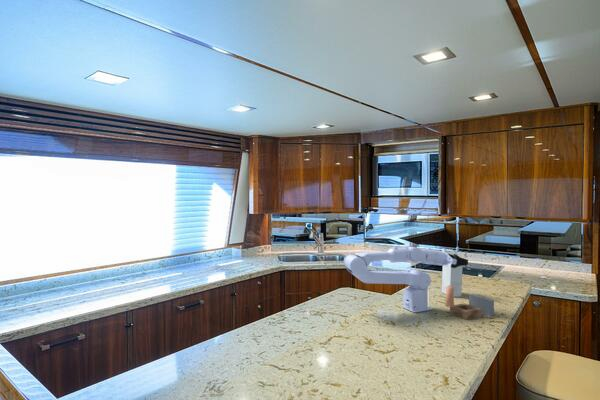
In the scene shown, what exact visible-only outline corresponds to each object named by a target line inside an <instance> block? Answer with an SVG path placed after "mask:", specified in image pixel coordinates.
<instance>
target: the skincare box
mask: <svg viewBox="0 0 600 400" xmlns="http://www.w3.org/2000/svg"><path fill="white" fill-rule="evenodd" d="M441 274H442V275H441V277H442V278H441V293H443V294H445V295H446V287H447V286H451V287H454V298H457V297H458V298H459V297H462V293H463V292H462V290H463V289H462V287H463V266H458V267H456V268H452V267H451V264H448V265H444V266H443V265H442V272H441Z"/></svg>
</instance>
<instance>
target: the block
mask: <svg viewBox="0 0 600 400" xmlns="http://www.w3.org/2000/svg"><path fill="white" fill-rule="evenodd" d="M449 314H451V315H452V316H456V317H458V318H461V319H463V320H473V319H477V318H482V317H483V314H482V309H480V308H477V307H474V306H472V305H469V303H465V302H464V303H459V304H454V305H452V306H450V307H449Z"/></svg>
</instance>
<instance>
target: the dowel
mask: <svg viewBox="0 0 600 400" xmlns="http://www.w3.org/2000/svg"><path fill="white" fill-rule="evenodd" d="M445 298H446V299H445V300H446V301H445V306H446V307H448V308H450V306H452V305H455V297H454V287H451V286H447V287H446V294H445Z"/></svg>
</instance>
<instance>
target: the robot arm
mask: <svg viewBox="0 0 600 400" xmlns="http://www.w3.org/2000/svg"><path fill="white" fill-rule="evenodd" d="M378 261H389V262H390V263H405V262H409V261H410V262H412V263H422V264H423V263H424V264H432V265H438V266H439V265H440V266H442V267H443V266H444V265H448V264H451V267H452V268H456V267H458V266H462V267H463V266H468V265H469V259H466V258H465V257H464V258H463V257H461V256H459V255H458V254H456V253H453V254H450V253H448V252H447V249H446V248H441V249H440V250H437V249H436V250H435V249H430V248H429V249H428V248H420V247H413V246H409V245H407V246H406V245H405V246H404V247H398V246H392V248H389V249H388V250H387V251H372V252H370V251H366V252H364V251H363V252H356V253H354V254H353V253H349V254H347V255H345V256H344V258H343V265H344V267H345V269H346V270H347V271H348V272H349V273H350V274H352V275H353V276H354V277H355V278H357V279H358V280H359V281H360V282H362V283H363V284H380V285H381V284H382V285H385V284H386V285H388V284H389V285H408V287H406V288H405V289H404V290H403V291H402V306H401V307H402V308H403V309H405V310H407V311H410V312H412V313H419V312H426V311H431V310H433V308H432V307H430V306H428V305H429V304H428V303H429V302H428V301H429V300H428V299H429V297H428V291H429V289H428V288H429V286H430V285H431V282H432V279H431V276H430V275H429V274H428V273H426V272H423V271H421V270H419V269H416V268H409V269H408V270H403V271H394V270H393V271H391V270H389V271H387V270H369V268H368V267H369V266H370V264H371V263H373V262H378Z"/></svg>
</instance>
